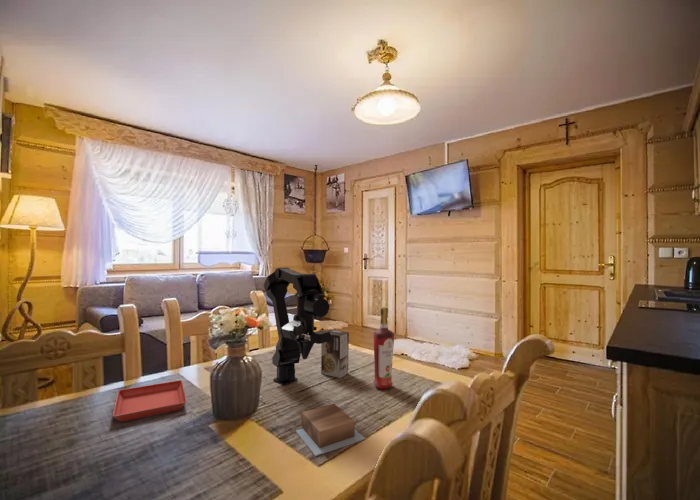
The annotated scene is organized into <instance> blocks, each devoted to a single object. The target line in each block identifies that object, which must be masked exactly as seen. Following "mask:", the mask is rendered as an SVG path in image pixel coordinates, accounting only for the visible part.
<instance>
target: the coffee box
mask: <svg viewBox="0 0 700 500" xmlns="http://www.w3.org/2000/svg"><path fill="white" fill-rule="evenodd" d="M326 331H328V332H330V333H331V341H328V342H325V343H321V354H320V355H321V362H320V363H321V364H320V365H321V367H320V368H321V371H320V372H321V374H323V375H326V376H329V377H330V376H331V377H334V378H337V379H342V377H345V376H347V375H349V347H350V346H349V344H350V343H349V342H350V337H349V335H350V334H349V333H350V332H349V331H341V330H336V329H328V330H326ZM346 374H347V375H346Z"/></svg>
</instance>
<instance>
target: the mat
mask: <svg viewBox="0 0 700 500" xmlns="http://www.w3.org/2000/svg"><path fill="white" fill-rule="evenodd" d="M295 432H296V434H297V435H298V436H299V438H300V439H301V440H302V442H304V444H305V445H306V446H307V448H308V449H309V450H310V452H311V453H312V454H313V455H314V456H315V457H318V456H320V455H323V454H327V453H329V452H332V451H336V450H339V449H341V448H345V447H347V446H350V445H353V444H355V443H356V444H357V443H358V442H361V441H365V440H366V437H364V435H362V434H361V433H360V432H359V431H358V430H357V429H355V437H352V438H349V439H346V440H343V441H340V442H337V443H334V444H331V445H328V446H325V447H322V448H319V447H318V446H317V445H316V444H315V442H314V441H313V440H312V439H311V438H310V437H309V435H308V434H307V433H306V432H305V431H304V429H303V428H300V429H296V430H295Z"/></svg>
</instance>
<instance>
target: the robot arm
mask: <svg viewBox="0 0 700 500" xmlns="http://www.w3.org/2000/svg"><path fill="white" fill-rule="evenodd" d="M317 276H318V275H316V273H302V272H299V271H296V270H294V269H291V268H290V267H286V266H285V267H284V266H283V267H277V268H275V270H274V271H273V272H272V273H270V274H269V275H267V277H266V279H265V280H264V283H263V287H264V290H265V294H266V297H268V299H269V300H270V301H272V307H273V313H274V319H275V324H276V329H277V331H276V332H277V337H278V341H277V343H276V345H275V352H274V354H273V356H272V357H271V360H272V365H274V366H275V367H276V377H275V378H273V379H272V380H273V381H274V382H276V383H279V384H281V385H283V386H284V385H288V384H291V383H293V382H295V381H298V379H299V378H297V376H296V367H295V366H296V365H295V364H299V363H300V360H301V357H302V359H303V360H307V359H308V357H309V355H310V352H311V350H312V349H313V347H314V345H315V344H317V345H320V344H321V343H325V342H328V341H331V333H330V332H328V331H327V330H325V329H324V330H323V329H321V330H317V329H318V327H317V326H315V319H316V318H317V317H318V318H323V317H325V316H326V315H327V314H328V313H329V310H330V305H329V304H330V303H329V302H328V300H327V299H325V294H324V292H323V288H322V285H321V283H320V280H319V278H318V277H317ZM291 284H292V288H293V289H294V290H295V291H296V293H294V296H295V298H296V314H294V315H293V317H292V318H293V319H292V321H290V318H289V313H288V308H287V303H286V295H287V293H288V290H289V289H288V287H289V286H290V285H291ZM316 330H317V331H316Z"/></svg>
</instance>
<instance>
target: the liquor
mask: <svg viewBox="0 0 700 500" xmlns="http://www.w3.org/2000/svg"><path fill="white" fill-rule="evenodd" d="M388 313H389V307H387V306H381V307H380V321H379V322H380V323H379V329H377V330H375V331H374V332H373V350H374V351H373V357H374V360H373V361H374V380H373V383H372V384H373V385H374V386H375V387H376V388H377V389H379V390H388V389H389V388H390V387H392V386H393V383H394V382H393V381H392V379H393V378H392V376H393V359H394V347H395V346H394V345H395V333H394V331H392V330H391V329H389V320H388V317H389V316H388V315H389V314H388Z"/></svg>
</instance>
